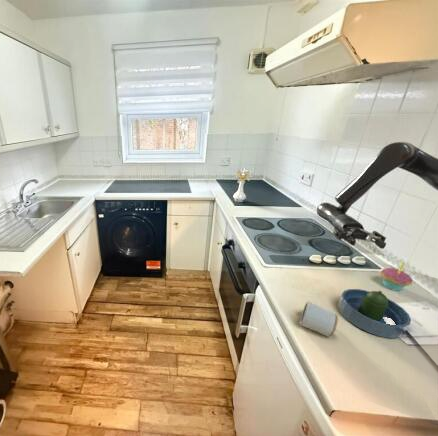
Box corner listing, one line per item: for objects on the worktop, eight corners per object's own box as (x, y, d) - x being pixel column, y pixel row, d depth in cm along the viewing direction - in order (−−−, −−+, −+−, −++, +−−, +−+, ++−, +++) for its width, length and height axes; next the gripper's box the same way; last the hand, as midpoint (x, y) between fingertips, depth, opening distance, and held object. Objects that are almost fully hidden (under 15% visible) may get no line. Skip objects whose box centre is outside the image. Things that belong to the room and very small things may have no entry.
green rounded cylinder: (374, 311, 79) (385, 287, 75) (384, 324, 74) (397, 299, 70) (354, 308, 80) (364, 284, 76) (362, 321, 75) (374, 295, 71)
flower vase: (230, 204, 179) (235, 171, 169) (230, 196, 195) (235, 166, 185) (249, 205, 175) (255, 172, 165) (247, 198, 191) (252, 167, 181)
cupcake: (407, 297, 86) (422, 269, 81) (376, 286, 91) (388, 260, 86) (406, 285, 91) (419, 259, 87) (376, 276, 97) (388, 251, 92)
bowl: (383, 305, 82) (389, 293, 80) (418, 344, 68) (426, 332, 66) (329, 296, 86) (333, 285, 84) (351, 332, 72) (357, 319, 70)
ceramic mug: (331, 343, 68) (339, 323, 65) (298, 329, 73) (305, 310, 70) (331, 320, 76) (338, 301, 73) (301, 309, 81) (307, 291, 78)
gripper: (329, 215, 97) (348, 232, 83) (370, 219, 94) (398, 237, 79) (324, 232, 100) (341, 251, 86) (364, 236, 96) (389, 256, 82)
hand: (368, 244), depth 82 cm, fingers open, 8 cm apart
